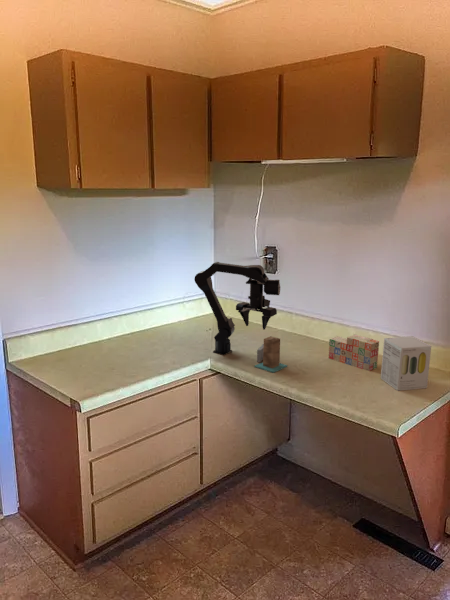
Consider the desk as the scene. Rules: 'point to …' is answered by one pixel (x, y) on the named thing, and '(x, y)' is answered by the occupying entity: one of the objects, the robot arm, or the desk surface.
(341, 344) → the stack of blocks
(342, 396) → the desk surface
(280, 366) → the mat
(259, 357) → the screen
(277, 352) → the letter block
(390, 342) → the supplement box
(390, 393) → the desk surface
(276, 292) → the robot arm
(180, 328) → the desk surface
